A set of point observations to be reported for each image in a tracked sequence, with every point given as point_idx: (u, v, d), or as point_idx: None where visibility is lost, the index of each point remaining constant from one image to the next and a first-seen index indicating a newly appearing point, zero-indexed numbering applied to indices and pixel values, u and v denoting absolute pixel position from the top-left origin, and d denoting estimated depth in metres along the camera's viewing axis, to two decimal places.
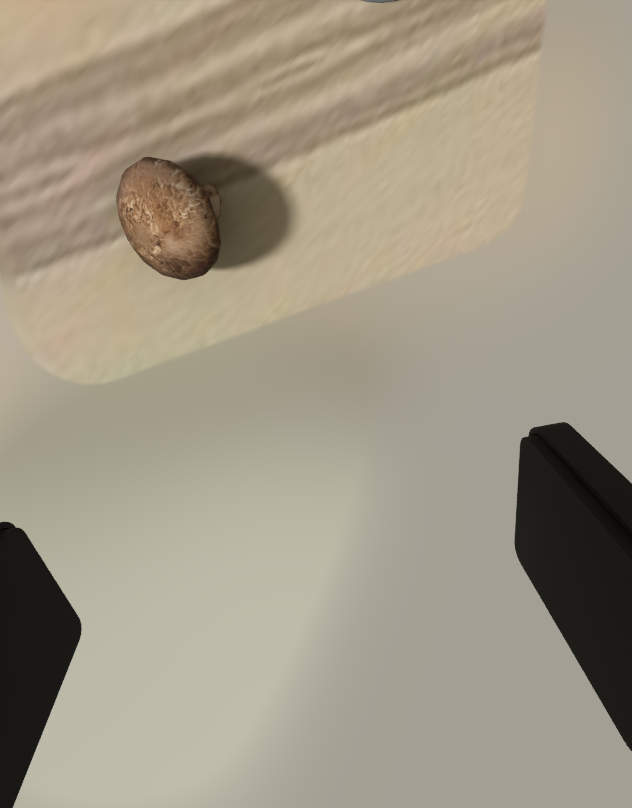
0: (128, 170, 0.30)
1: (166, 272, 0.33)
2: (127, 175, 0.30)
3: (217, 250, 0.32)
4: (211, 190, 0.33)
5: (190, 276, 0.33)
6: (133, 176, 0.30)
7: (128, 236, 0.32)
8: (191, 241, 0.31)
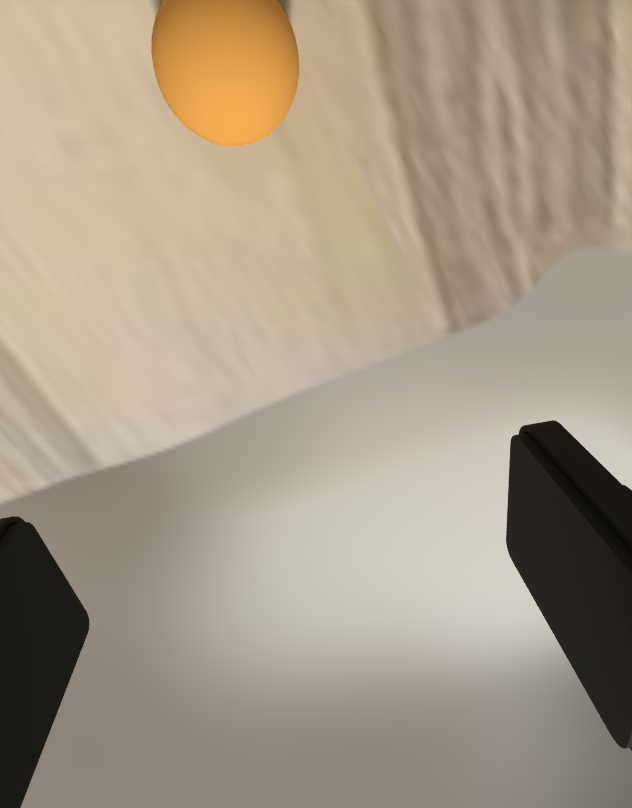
0: None
1: None
2: None
3: None
4: None
5: None
6: None
7: None
8: None
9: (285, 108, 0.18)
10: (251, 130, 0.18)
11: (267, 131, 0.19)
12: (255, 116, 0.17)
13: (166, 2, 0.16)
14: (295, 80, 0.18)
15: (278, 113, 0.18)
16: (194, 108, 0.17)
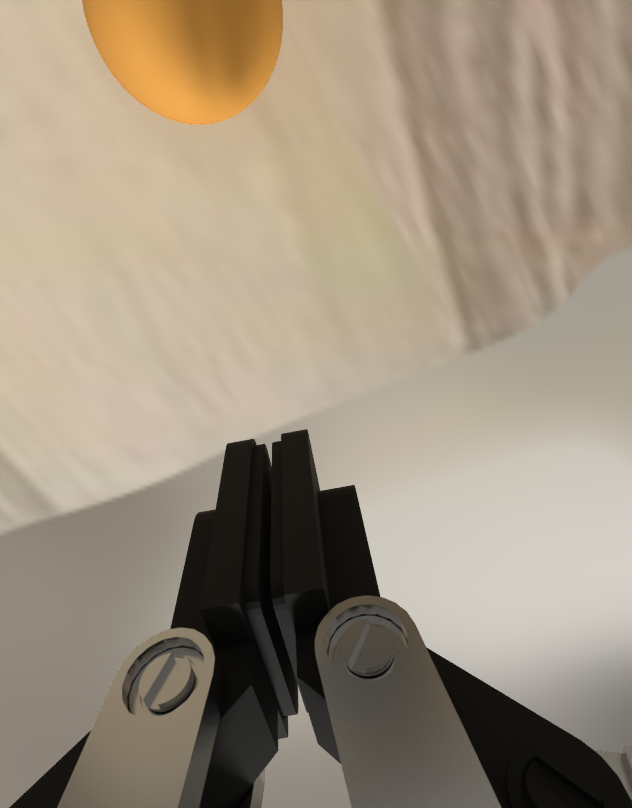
0: None
1: None
2: None
3: None
4: None
5: None
6: None
7: None
8: None
9: (265, 72, 0.14)
10: (220, 102, 0.14)
11: (242, 104, 0.14)
12: (225, 82, 0.13)
13: None
14: (278, 34, 0.13)
15: (256, 79, 0.14)
16: (140, 70, 0.13)
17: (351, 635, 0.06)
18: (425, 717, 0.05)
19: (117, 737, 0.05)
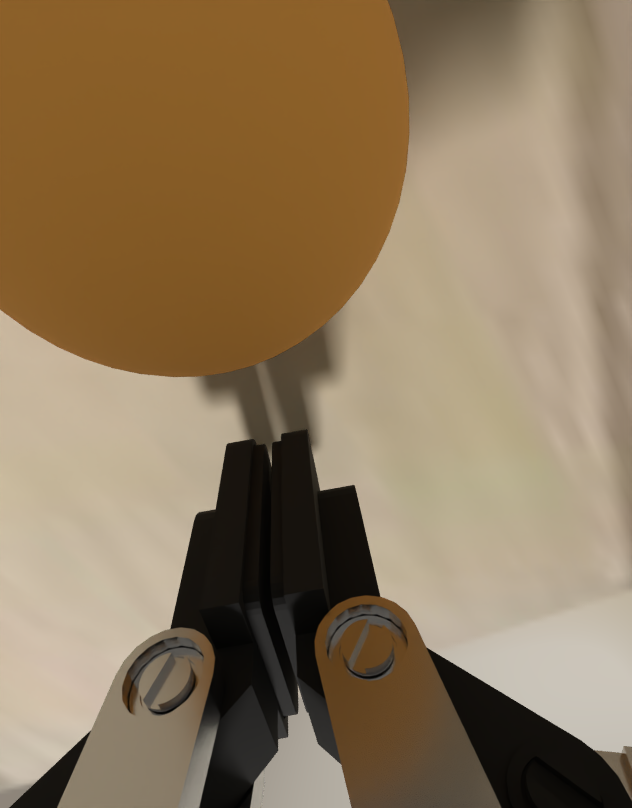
0: None
1: None
2: None
3: None
4: None
5: None
6: None
7: None
8: None
9: (363, 279, 0.06)
10: (258, 360, 0.06)
11: (305, 337, 0.06)
12: (271, 336, 0.05)
13: None
14: None
15: (343, 300, 0.06)
16: (48, 331, 0.05)
17: (350, 635, 0.06)
18: (425, 717, 0.05)
19: (117, 737, 0.05)
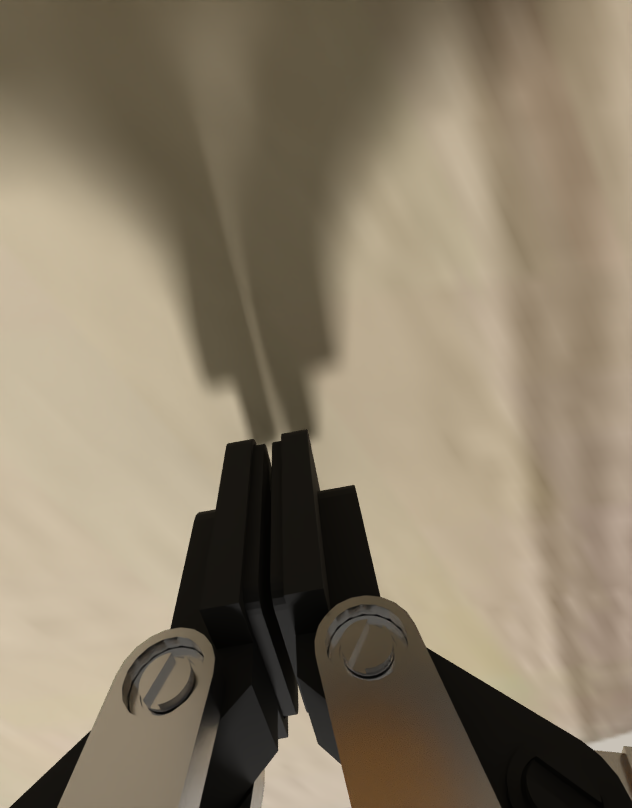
0: None
1: None
2: None
3: None
4: None
5: None
6: None
7: None
8: None
9: None
10: None
11: None
12: None
13: None
14: None
15: None
16: None
17: (350, 635, 0.06)
18: (425, 717, 0.05)
19: (117, 737, 0.05)
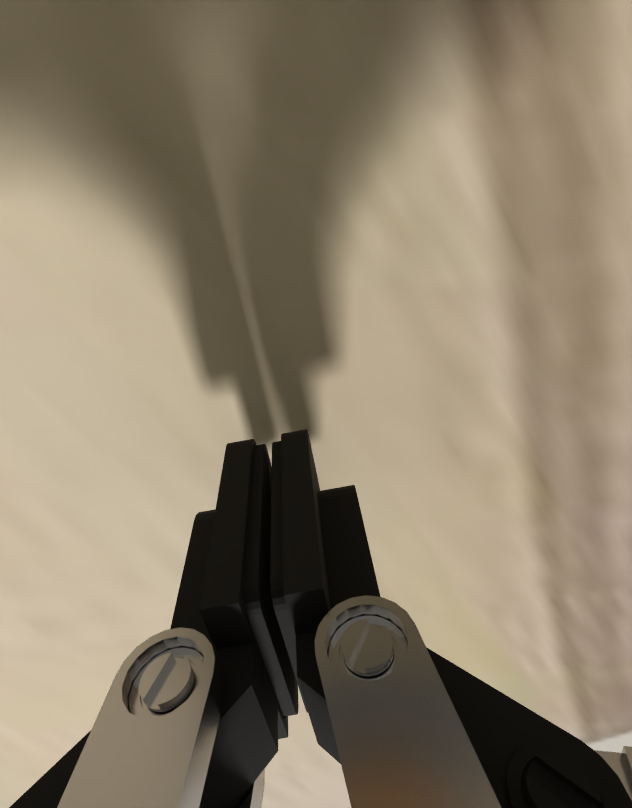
0: None
1: None
2: None
3: None
4: None
5: None
6: None
7: None
8: None
9: None
10: None
11: None
12: None
13: None
14: None
15: None
16: None
17: (350, 635, 0.06)
18: (425, 717, 0.05)
19: (117, 737, 0.05)
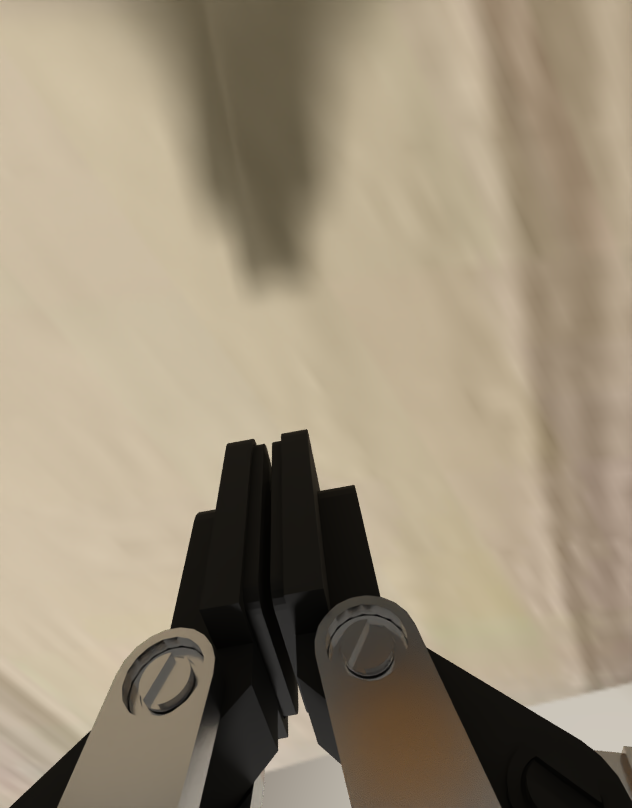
0: None
1: None
2: None
3: None
4: None
5: None
6: None
7: None
8: None
9: None
10: None
11: None
12: None
13: None
14: None
15: None
16: None
17: (351, 635, 0.06)
18: (425, 717, 0.05)
19: (117, 737, 0.05)
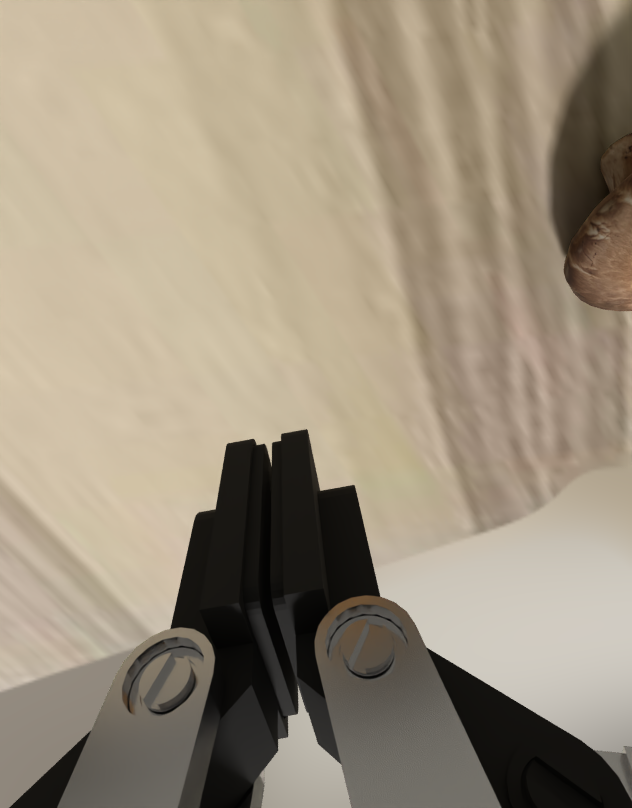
0: (586, 285, 0.19)
1: None
2: (599, 287, 0.19)
3: None
4: (625, 146, 0.19)
5: None
6: (612, 278, 0.18)
7: None
8: None
9: None
10: None
11: None
12: None
13: None
14: None
15: None
16: None
17: (350, 635, 0.06)
18: (425, 717, 0.05)
19: (117, 737, 0.05)
